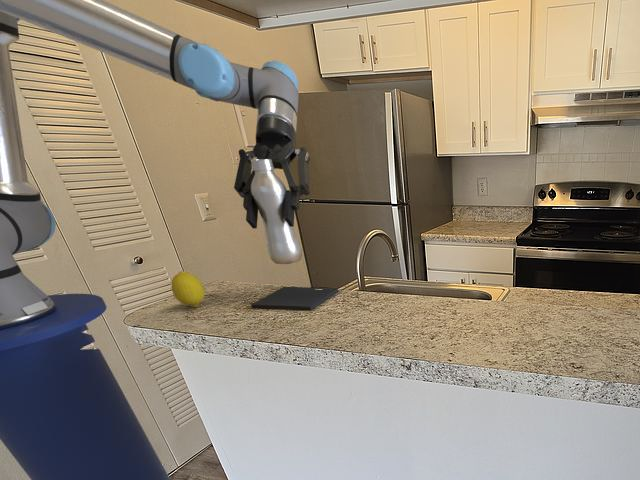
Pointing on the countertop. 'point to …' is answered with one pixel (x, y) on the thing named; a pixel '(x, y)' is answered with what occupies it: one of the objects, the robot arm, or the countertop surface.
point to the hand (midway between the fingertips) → (270, 223)
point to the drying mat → (295, 298)
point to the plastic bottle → (274, 213)
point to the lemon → (187, 289)
